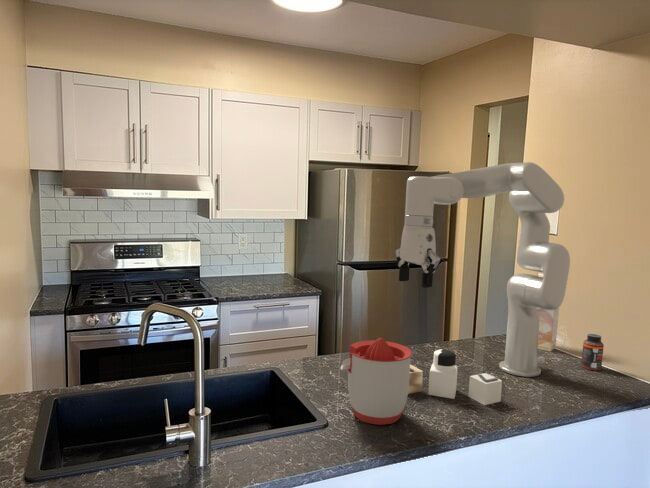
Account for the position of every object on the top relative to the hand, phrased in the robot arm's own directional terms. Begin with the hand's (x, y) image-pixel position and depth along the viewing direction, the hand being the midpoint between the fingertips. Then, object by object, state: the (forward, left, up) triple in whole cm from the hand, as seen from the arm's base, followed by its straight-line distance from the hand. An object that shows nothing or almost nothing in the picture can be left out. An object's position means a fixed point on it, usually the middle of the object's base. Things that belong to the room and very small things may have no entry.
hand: (414, 284), depth 131 cm
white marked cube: (-17, +12, -31) cm, 37 cm away
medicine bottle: (-9, +4, -31) cm, 33 cm away
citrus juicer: (+17, +8, -31) cm, 37 cm away
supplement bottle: (-70, +8, -31) cm, 77 cm away
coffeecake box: (-72, -17, -31) cm, 80 cm away
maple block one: (-1, -2, -31) cm, 31 cm away
